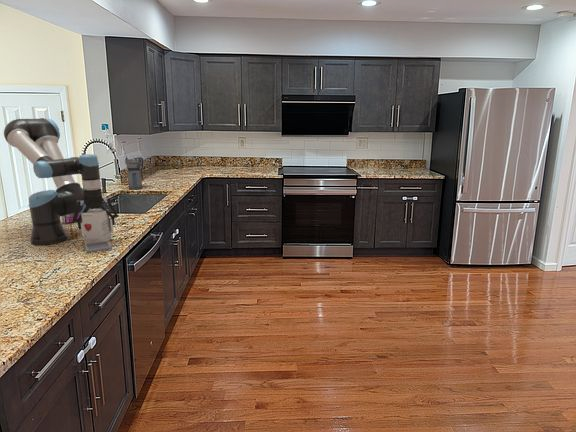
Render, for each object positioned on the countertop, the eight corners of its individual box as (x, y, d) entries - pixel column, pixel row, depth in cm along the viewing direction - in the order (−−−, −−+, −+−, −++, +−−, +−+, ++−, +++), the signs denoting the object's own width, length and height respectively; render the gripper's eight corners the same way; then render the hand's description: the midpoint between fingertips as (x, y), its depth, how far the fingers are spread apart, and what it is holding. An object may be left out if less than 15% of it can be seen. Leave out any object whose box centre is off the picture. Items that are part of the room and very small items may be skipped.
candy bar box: (66, 224, 224) (61, 194, 220) (62, 222, 227) (57, 193, 223) (86, 220, 233) (82, 191, 228) (82, 218, 236) (78, 190, 231)
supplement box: (84, 244, 191) (80, 213, 187) (94, 238, 200) (90, 208, 196) (103, 244, 191) (99, 213, 187) (112, 238, 199) (108, 208, 195)
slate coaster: (87, 253, 179) (86, 250, 178) (84, 247, 187) (84, 244, 187) (111, 249, 184) (111, 246, 183) (108, 243, 192) (108, 240, 191)
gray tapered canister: (145, 189, 321) (143, 157, 315) (127, 190, 317) (124, 157, 310) (145, 186, 330) (142, 155, 324) (127, 188, 326) (124, 156, 320)
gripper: (62, 192, 180) (69, 239, 185) (121, 187, 192) (126, 231, 197) (62, 189, 186) (68, 235, 191) (118, 184, 198) (123, 228, 203)
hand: (97, 233), depth 194 cm, fingers closed on supplement box, 12 cm apart
